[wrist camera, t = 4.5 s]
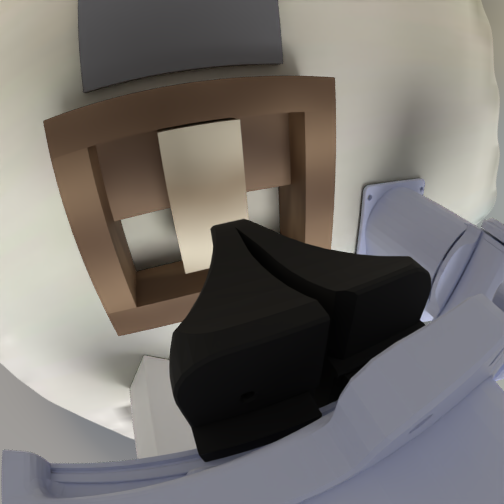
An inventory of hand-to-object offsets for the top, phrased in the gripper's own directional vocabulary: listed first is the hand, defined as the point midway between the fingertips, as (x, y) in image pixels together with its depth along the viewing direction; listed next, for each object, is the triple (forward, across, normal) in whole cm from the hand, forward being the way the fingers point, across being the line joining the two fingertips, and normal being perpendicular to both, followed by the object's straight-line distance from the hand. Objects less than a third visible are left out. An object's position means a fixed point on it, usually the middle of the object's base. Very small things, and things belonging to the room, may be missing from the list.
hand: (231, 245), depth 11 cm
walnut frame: (+8, 0, 0) cm, 8 cm away
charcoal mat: (+8, 0, -13) cm, 15 cm away
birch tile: (+6, 0, 0) cm, 6 cm away
